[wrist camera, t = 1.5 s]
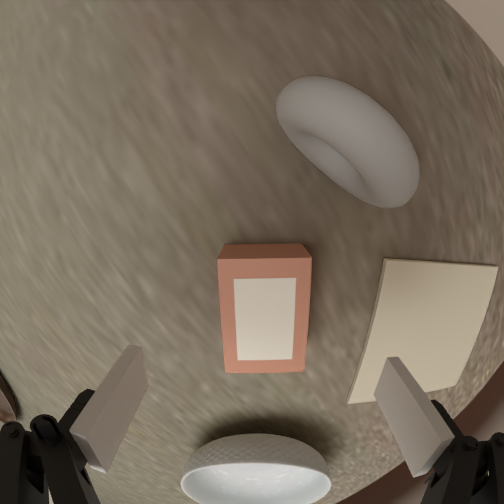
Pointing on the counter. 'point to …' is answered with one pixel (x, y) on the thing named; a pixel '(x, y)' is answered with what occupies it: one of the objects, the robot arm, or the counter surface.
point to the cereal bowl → (256, 471)
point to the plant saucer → (6, 404)
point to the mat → (424, 322)
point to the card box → (264, 306)
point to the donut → (350, 139)
